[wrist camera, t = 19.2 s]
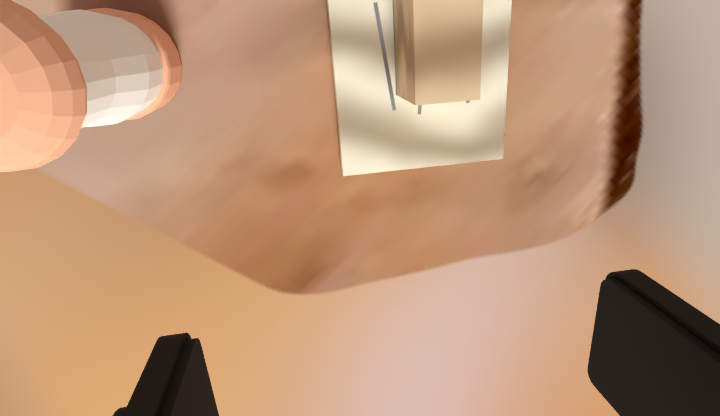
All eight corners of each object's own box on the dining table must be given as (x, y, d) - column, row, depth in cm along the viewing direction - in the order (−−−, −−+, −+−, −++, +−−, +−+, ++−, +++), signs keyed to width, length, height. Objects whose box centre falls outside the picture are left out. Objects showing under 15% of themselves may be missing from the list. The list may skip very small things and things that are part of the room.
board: (317, -104, 30) (318, -111, 29) (508, -112, 32) (518, -119, 30) (341, 170, 38) (343, 176, 36) (495, 154, 39) (503, 158, 38)
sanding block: (392, -3, 32) (412, -12, 26) (451, -7, 32) (483, -16, 27) (395, 94, 35) (415, 105, 29) (450, 89, 35) (480, 99, 30)
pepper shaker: (108, -13, 31) (-148, -83, 13) (200, 55, 33) (93, 74, 15) (58, 73, 32) (-231, 115, 14) (151, 131, 34) (0, 230, 17)
